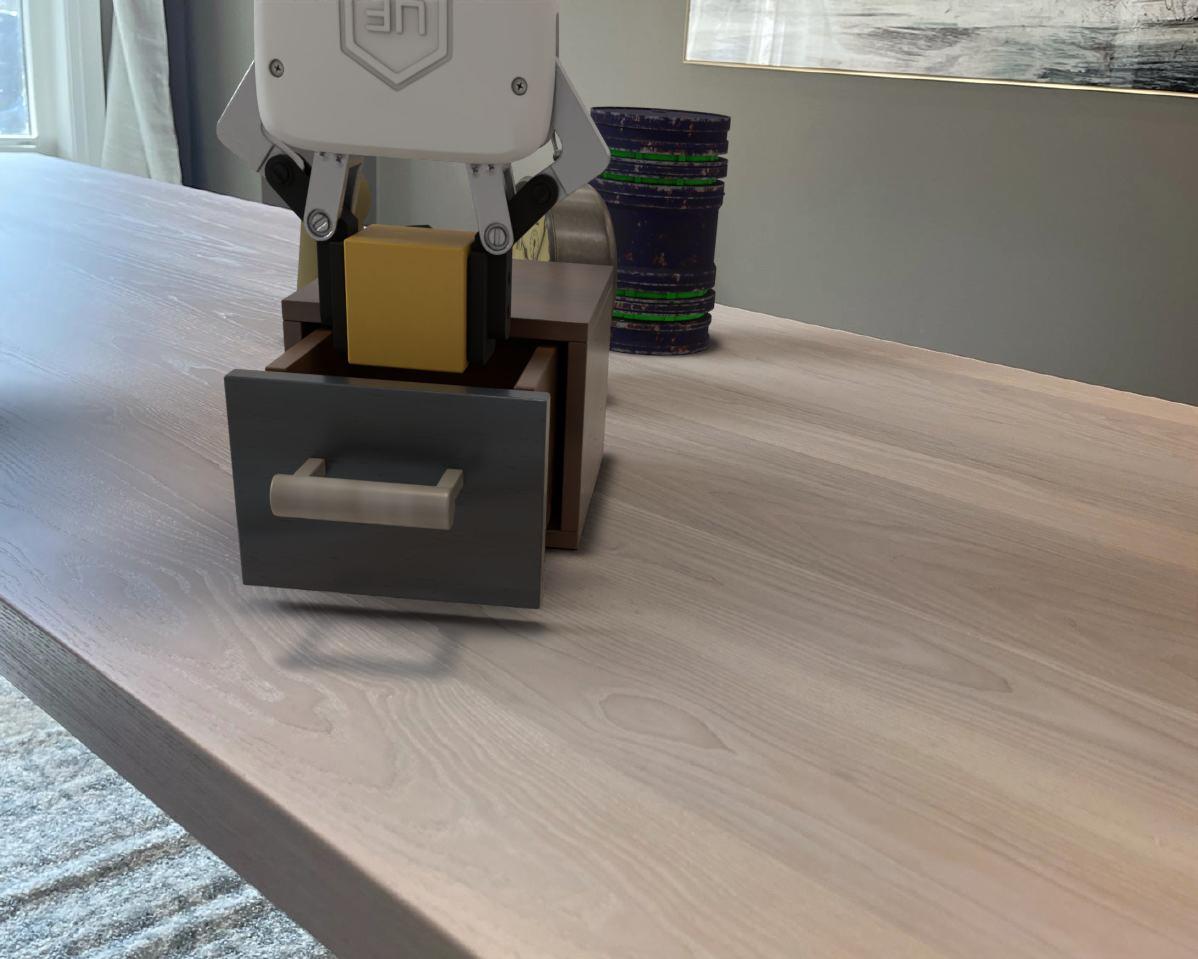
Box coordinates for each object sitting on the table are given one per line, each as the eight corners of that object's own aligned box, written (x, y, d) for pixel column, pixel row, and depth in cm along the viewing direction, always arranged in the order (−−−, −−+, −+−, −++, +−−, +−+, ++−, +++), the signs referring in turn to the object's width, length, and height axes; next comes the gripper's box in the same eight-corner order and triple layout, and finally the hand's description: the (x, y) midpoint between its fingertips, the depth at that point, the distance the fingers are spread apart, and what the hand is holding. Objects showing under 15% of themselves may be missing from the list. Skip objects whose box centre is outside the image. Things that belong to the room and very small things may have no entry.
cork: (278, 345, 88) (265, 166, 82) (315, 328, 93) (306, 159, 87) (361, 354, 86) (354, 174, 81) (395, 337, 92) (390, 166, 86)
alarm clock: (488, 367, 86) (491, 88, 77) (565, 365, 87) (576, 92, 79) (540, 409, 77) (550, 101, 69) (624, 406, 79) (644, 105, 70)
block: (347, 364, 49) (343, 239, 46) (374, 340, 53) (371, 223, 50) (463, 374, 49) (463, 248, 46) (481, 349, 52) (483, 232, 50)
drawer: (525, 656, 45) (531, 432, 41) (204, 629, 45) (179, 405, 41) (574, 499, 60) (582, 324, 56) (333, 479, 61) (324, 305, 56)
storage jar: (716, 358, 91) (739, 122, 84) (578, 350, 91) (588, 112, 83) (705, 330, 100) (725, 112, 92) (578, 322, 100) (588, 104, 92)
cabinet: (577, 550, 57) (588, 322, 52) (296, 527, 57) (280, 300, 52) (603, 456, 69) (614, 266, 64) (372, 438, 70) (365, 248, 65)
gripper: (101, -281, 38) (170, 356, 48) (670, -244, 37) (625, 394, 47) (190, -236, 45) (235, 317, 54) (677, -205, 44) (636, 349, 53)
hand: (416, 347), depth 50 cm, fingers closed on block, 4 cm apart
